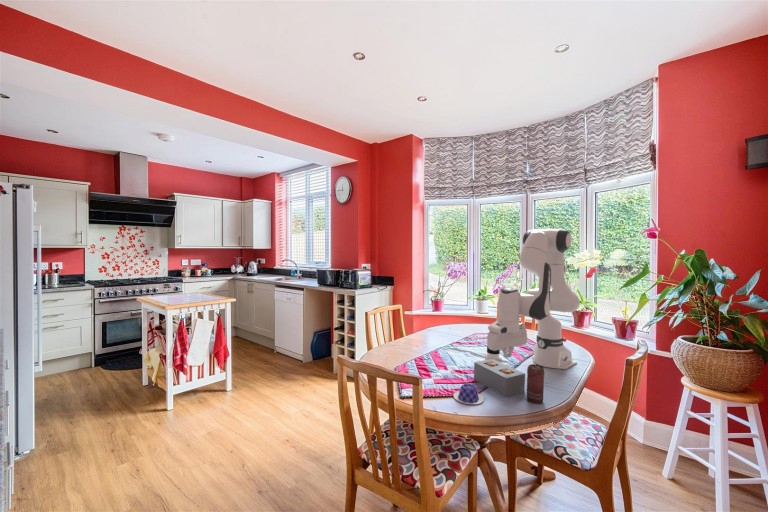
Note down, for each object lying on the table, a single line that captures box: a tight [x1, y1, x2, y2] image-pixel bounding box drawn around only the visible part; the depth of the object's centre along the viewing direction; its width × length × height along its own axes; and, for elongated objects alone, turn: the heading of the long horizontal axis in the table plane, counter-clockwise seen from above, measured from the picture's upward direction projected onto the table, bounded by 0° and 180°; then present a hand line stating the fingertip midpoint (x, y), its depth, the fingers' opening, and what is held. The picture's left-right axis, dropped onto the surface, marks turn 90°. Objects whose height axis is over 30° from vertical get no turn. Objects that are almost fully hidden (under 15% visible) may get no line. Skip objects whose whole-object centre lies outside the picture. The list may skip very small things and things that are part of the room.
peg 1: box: [487, 362, 496, 367], centre depth 151 cm, size 4×4×8 cm
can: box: [526, 363, 545, 405], centre depth 133 cm, size 6×6×14 cm
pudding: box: [453, 383, 485, 405], centre depth 135 cm, size 12×12×5 cm
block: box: [473, 359, 526, 398], centre depth 147 cm, size 11×19×8 cm, turn 26°
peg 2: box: [502, 369, 512, 374], centre depth 143 cm, size 4×4×8 cm
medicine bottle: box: [484, 346, 503, 363], centre depth 165 cm, size 7×7×12 cm
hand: (507, 356), depth 143 cm, fingers closed
